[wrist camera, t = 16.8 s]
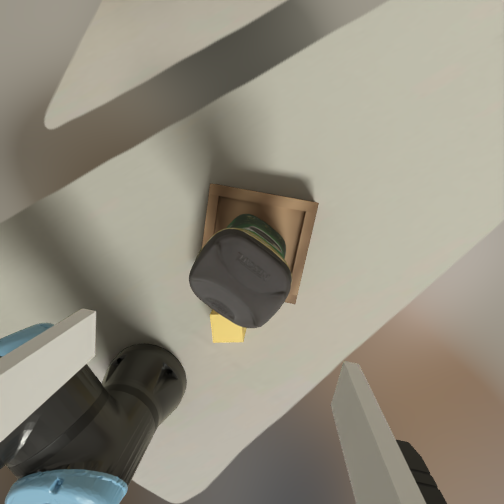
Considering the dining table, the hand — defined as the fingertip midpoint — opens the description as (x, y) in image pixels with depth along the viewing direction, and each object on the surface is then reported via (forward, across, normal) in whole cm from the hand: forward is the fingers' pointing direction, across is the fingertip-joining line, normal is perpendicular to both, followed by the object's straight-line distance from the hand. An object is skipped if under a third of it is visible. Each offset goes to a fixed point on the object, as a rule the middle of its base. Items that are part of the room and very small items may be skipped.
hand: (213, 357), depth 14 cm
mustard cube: (+31, -2, -14) cm, 34 cm away
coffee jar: (+28, 0, 0) cm, 28 cm away
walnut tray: (+31, 0, 0) cm, 31 cm away
